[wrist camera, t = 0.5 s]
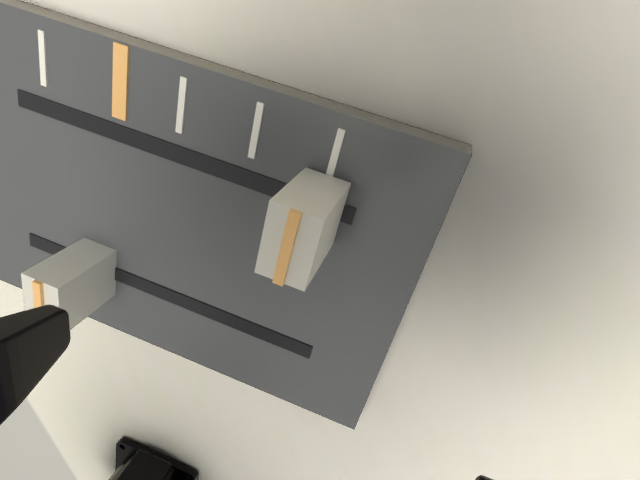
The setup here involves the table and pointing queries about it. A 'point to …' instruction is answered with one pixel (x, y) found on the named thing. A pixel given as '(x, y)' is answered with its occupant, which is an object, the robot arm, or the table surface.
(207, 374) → the table surface
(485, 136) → the table surface
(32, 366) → the robot arm
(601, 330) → the table surface
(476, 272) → the table surface
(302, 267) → the fader
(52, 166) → the console
